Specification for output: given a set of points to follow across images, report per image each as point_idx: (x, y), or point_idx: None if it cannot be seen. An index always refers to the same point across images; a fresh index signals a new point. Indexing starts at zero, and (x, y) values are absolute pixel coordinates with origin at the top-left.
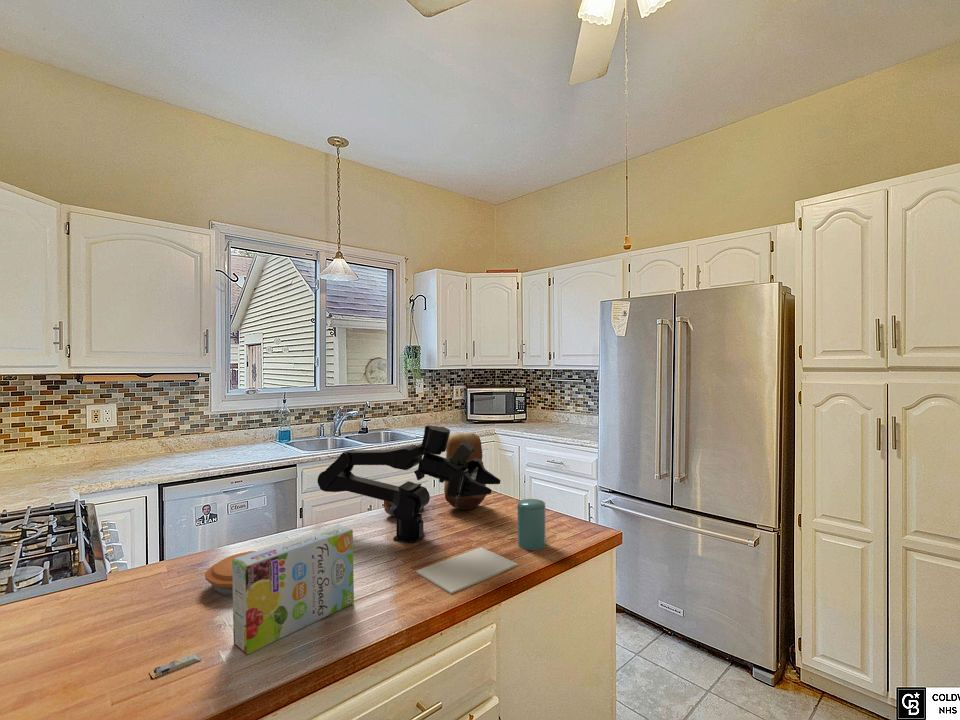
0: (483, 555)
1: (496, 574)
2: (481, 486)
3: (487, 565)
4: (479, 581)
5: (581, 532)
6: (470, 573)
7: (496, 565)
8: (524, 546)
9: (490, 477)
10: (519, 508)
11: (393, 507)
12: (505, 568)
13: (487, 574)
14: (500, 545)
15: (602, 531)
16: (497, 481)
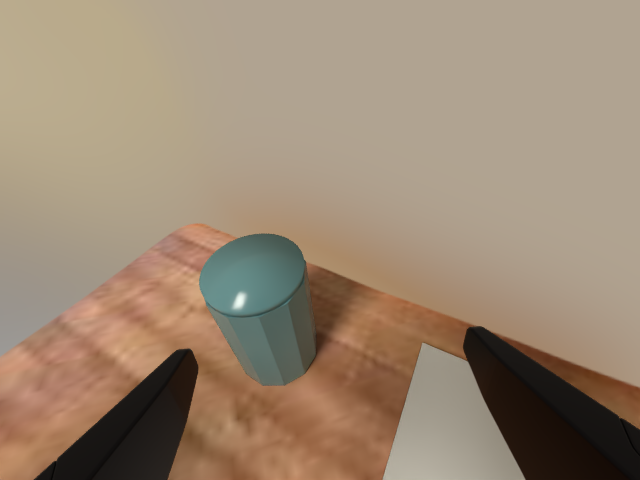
0: (435, 473)
1: None
2: (574, 392)
3: (492, 425)
4: None
5: (187, 264)
6: None
7: (471, 395)
8: (315, 352)
9: (137, 451)
10: (288, 307)
11: None
12: (468, 364)
13: None
14: (310, 443)
15: (182, 236)
16: (186, 376)
